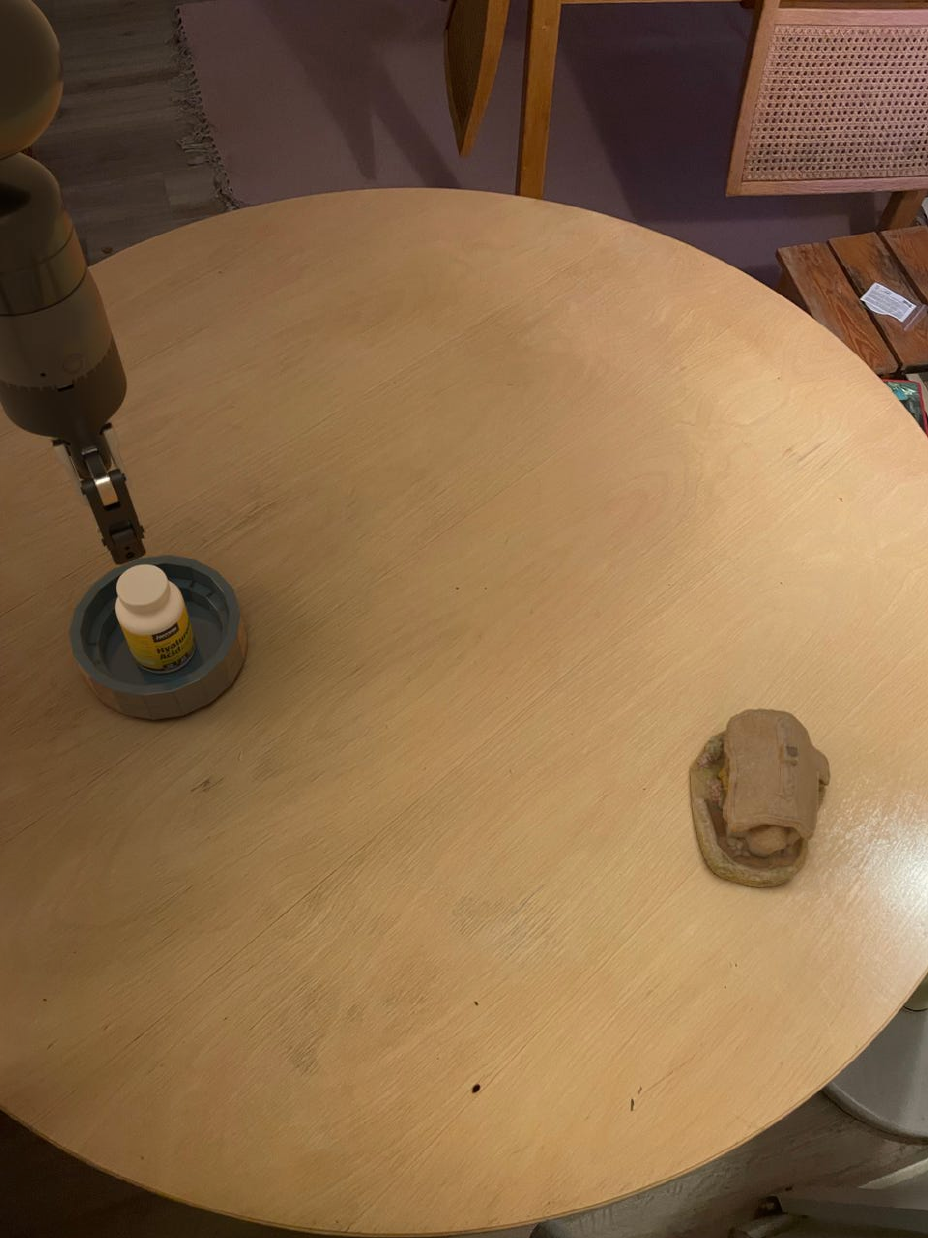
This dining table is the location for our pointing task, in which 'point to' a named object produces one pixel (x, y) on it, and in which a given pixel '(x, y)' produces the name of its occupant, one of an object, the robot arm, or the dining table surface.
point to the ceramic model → (758, 797)
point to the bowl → (169, 693)
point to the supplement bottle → (154, 620)
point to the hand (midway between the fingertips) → (111, 514)
